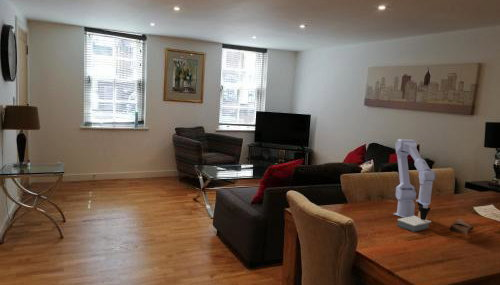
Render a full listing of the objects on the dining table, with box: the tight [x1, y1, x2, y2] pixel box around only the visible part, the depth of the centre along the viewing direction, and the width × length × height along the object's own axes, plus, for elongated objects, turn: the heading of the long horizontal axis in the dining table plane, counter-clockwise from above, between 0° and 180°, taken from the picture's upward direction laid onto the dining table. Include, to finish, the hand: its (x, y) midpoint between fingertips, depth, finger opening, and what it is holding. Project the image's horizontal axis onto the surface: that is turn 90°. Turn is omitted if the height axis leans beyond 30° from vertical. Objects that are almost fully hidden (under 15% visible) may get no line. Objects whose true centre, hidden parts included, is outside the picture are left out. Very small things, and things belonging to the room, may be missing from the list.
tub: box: [397, 220, 430, 233], centre depth 187 cm, size 13×9×3 cm
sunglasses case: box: [449, 217, 474, 236], centre depth 190 cm, size 18×7×7 cm, turn 141°
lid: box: [397, 210, 432, 226], centre depth 187 cm, size 15×10×5 cm, turn 122°
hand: (422, 217), depth 191 cm, fingers open, 6 cm apart
